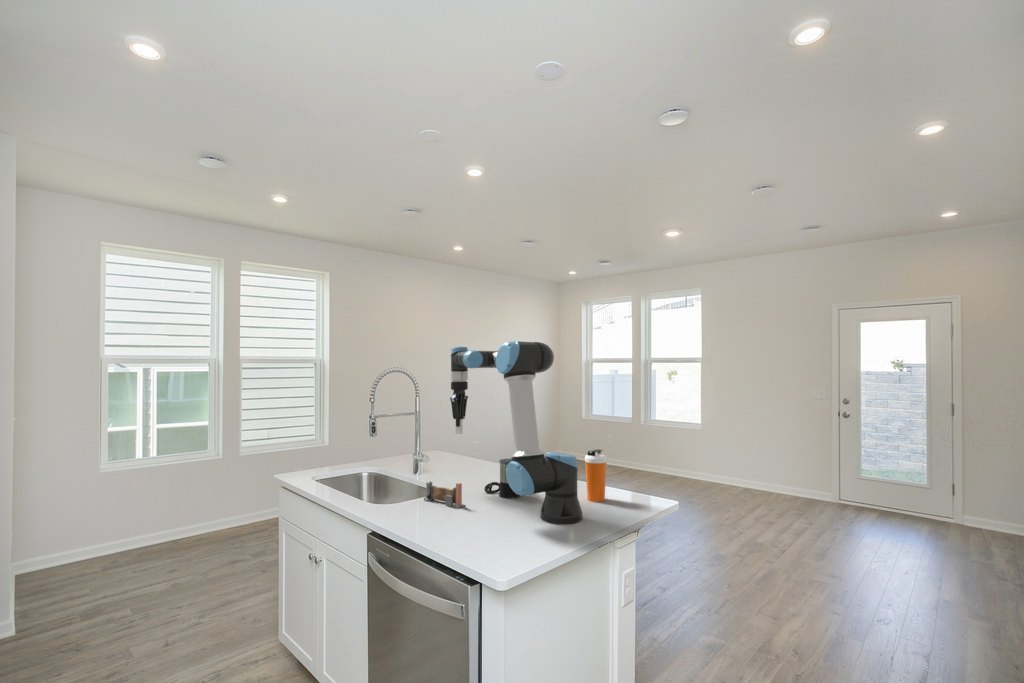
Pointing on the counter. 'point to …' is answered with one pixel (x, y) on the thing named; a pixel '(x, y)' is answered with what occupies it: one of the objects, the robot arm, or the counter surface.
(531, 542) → the counter surface
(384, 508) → the counter surface
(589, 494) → the shaker bottle
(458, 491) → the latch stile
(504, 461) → the corded kitchen appliance
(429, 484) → the hinge post
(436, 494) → the gate
